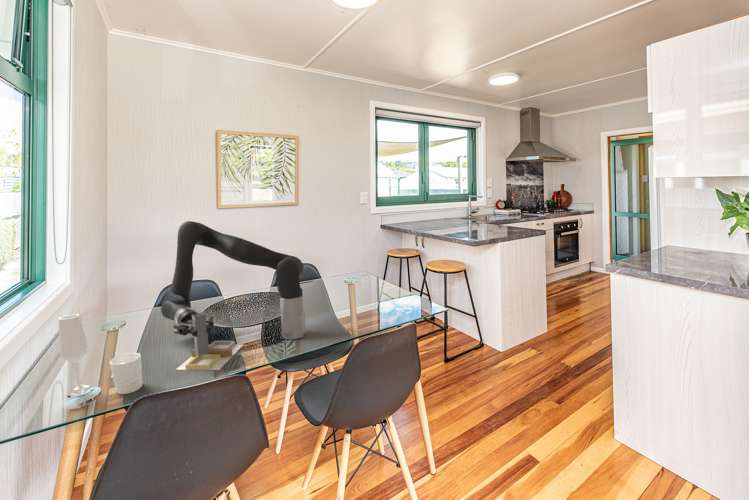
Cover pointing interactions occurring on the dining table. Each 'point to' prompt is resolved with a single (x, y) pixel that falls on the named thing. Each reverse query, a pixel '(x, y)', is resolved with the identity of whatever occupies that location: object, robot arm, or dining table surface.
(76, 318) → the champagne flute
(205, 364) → the white board with frames
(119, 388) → the white cup
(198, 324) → the bar
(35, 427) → the dining table surface
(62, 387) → the dining table surface
